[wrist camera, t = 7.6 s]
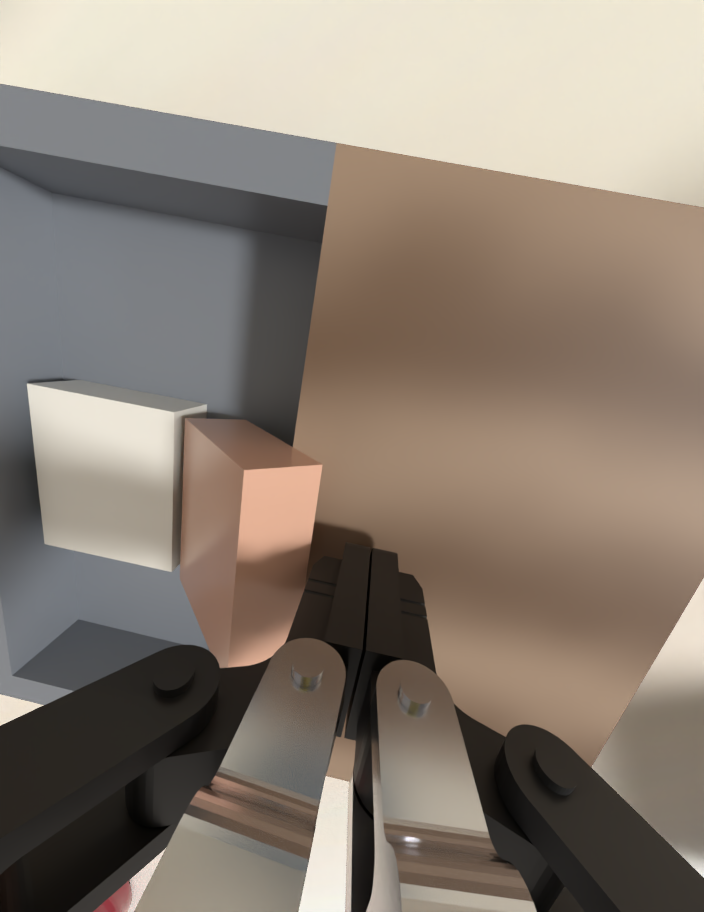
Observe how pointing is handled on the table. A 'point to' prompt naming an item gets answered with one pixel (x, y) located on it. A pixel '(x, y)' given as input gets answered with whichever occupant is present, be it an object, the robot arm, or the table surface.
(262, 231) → the box
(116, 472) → the cream tile
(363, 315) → the brown wooden board
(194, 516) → the terracotta tile
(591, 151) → the table surface
